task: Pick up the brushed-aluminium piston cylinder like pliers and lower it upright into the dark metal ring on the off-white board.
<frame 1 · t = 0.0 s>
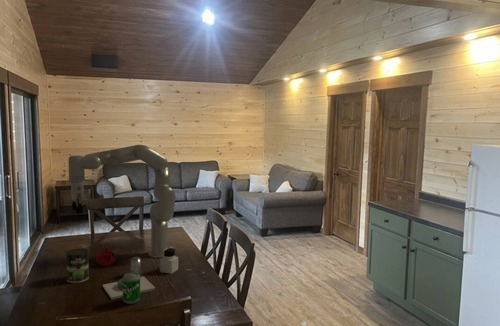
hand: (77, 211, 206), 31 cm above the table, fingers open, 9 cm apart
coffee can: (78, 279, 196), on the table
soda can: (131, 301, 173), on the table
piston: (135, 275, 202), on the table
pomegranate: (105, 264, 217), on the table
medicine bottle: (169, 271, 209), on the table
ring board: (128, 288, 186), on the table
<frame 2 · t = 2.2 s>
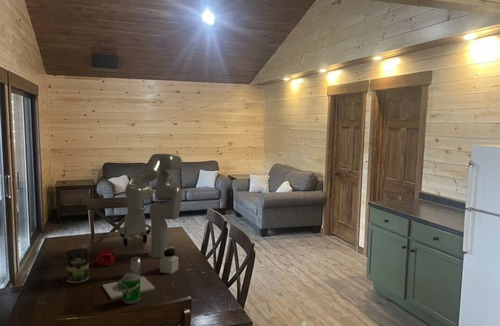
hand: (135, 244, 200), 16 cm above the table, fingers open, 9 cm apart
nothing on the table moved.
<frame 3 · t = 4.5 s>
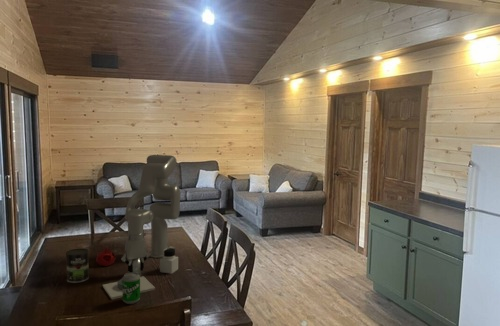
hand: (135, 270, 202), 2 cm above the table, fingers closed on piston, 5 cm apart
piston: (135, 275, 202), on the table, touching gripper
everything else where it was.
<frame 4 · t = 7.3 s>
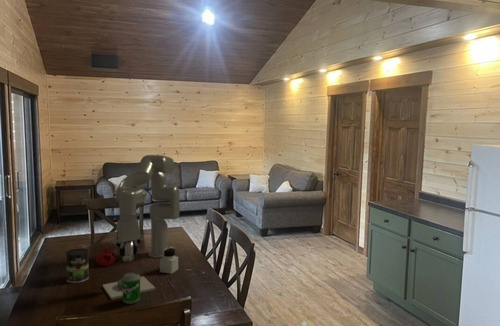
hand: (128, 254, 184), 17 cm above the table, fingers closed on piston, 5 cm apart
piston: (128, 259, 185), point 14 cm above the table, touching gripper
everything else where it was.
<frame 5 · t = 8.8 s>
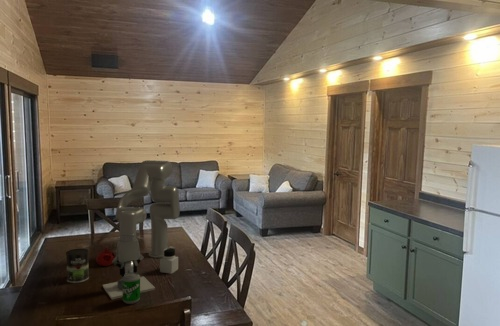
hand: (128, 274, 185), 7 cm above the table, fingers closed on piston, 5 cm apart
piston: (128, 279, 186), point 4 cm above the table, touching gripper
everything else where it was.
when the fingers open (5 cm above the table, at t = 10.1 s): piston drops 1 cm, resting on ring board.
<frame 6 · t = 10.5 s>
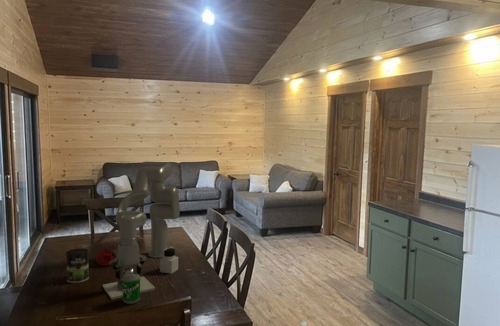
hand: (128, 276, 186), 6 cm above the table, fingers open, 9 cm apart
piston: (128, 286, 186), point 1 cm above the table, touching ring board
everything else where it was.
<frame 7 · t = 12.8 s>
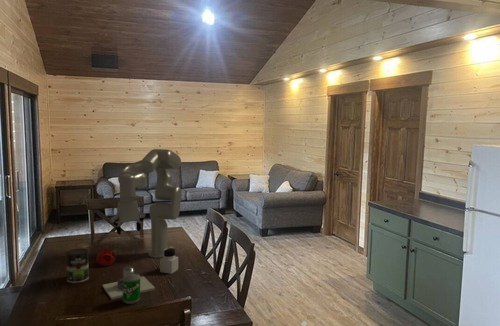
hand: (128, 232, 197), 23 cm above the table, fingers open, 9 cm apart
nothing on the table moved.
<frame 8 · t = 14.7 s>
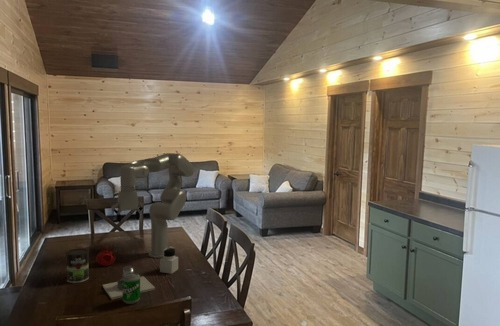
hand: (128, 220, 209), 26 cm above the table, fingers open, 9 cm apart
nothing on the table moved.
at the end: piston 0.1 cm off-centre on the ring board, point 1.0 cm above the ring board's base; piston tilted 1°; the gripper is holding nothing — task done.
